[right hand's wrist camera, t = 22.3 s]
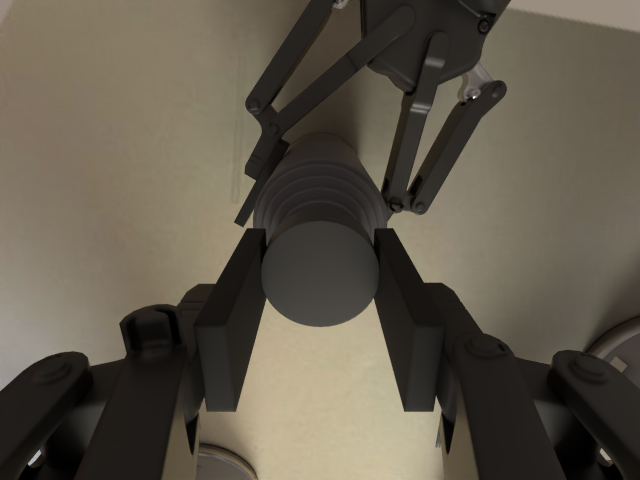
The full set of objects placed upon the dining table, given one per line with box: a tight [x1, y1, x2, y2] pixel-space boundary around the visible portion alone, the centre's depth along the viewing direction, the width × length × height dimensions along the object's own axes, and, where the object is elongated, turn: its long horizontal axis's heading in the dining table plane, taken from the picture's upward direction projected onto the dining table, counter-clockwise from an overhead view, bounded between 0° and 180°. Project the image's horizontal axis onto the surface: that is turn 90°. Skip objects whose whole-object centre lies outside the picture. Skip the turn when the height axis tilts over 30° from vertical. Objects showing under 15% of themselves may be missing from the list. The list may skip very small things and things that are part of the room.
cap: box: [261, 208, 379, 327], centre depth 14 cm, size 4×4×2 cm
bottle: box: [253, 132, 387, 245], centre depth 23 cm, size 7×7×19 cm
